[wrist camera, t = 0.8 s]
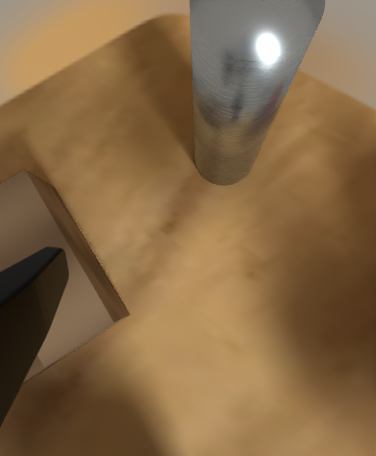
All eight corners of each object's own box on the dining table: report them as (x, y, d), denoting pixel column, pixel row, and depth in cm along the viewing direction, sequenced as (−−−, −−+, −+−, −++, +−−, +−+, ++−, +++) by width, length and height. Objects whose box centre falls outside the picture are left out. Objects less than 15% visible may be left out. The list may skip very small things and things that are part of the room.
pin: (257, 181, 22) (337, 47, 10) (199, 189, 22) (199, 67, 10) (248, 125, 23) (310, -69, 10) (191, 133, 23) (181, -50, 10)
